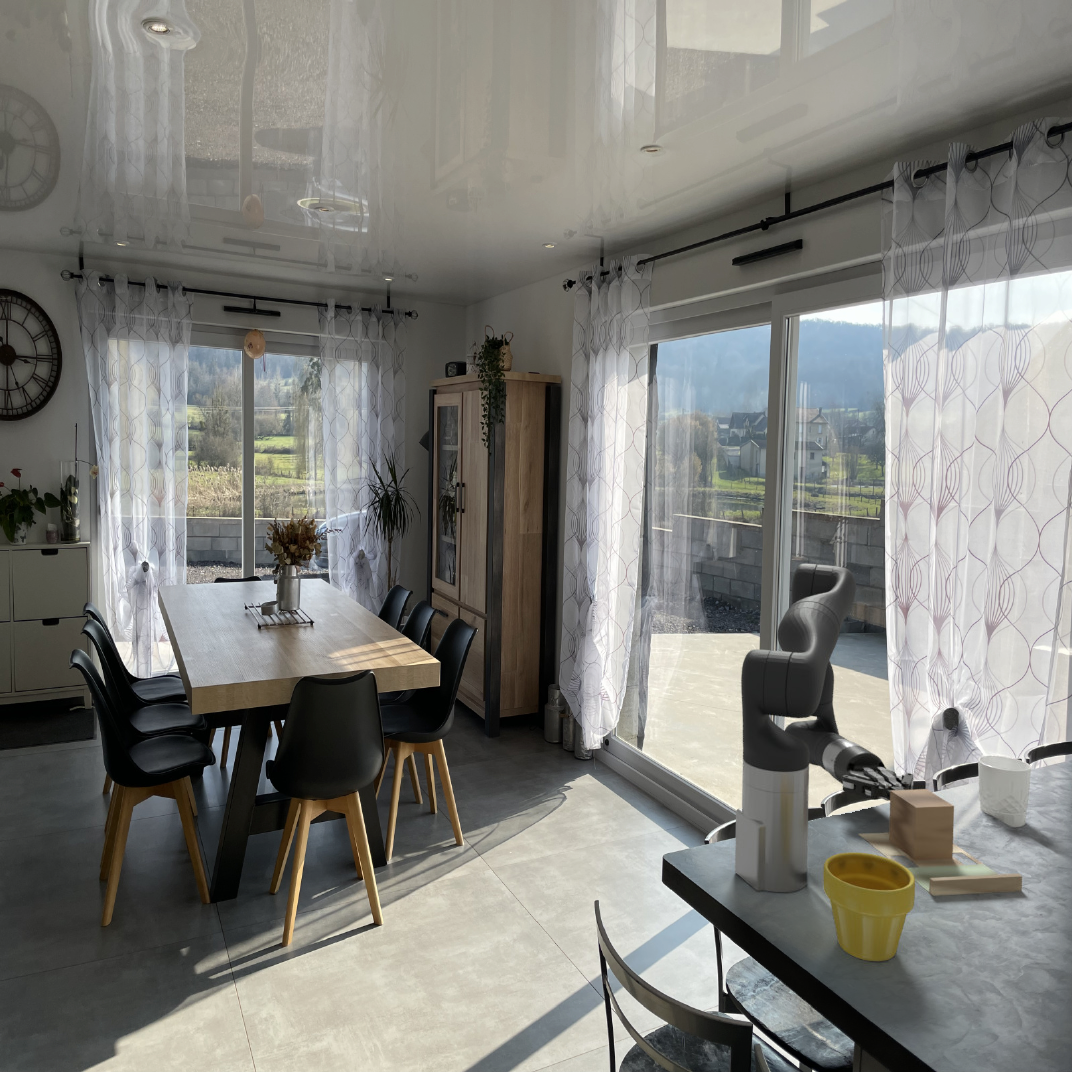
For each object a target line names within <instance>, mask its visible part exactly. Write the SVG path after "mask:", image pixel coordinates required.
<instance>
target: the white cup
mask: <svg viewBox="0 0 1072 1072" xmlns="http://www.w3.org/2000/svg"><path fill="white" fill-rule="evenodd" d="M977 760H978V761H977V762H978V763H977V764H978V765H977V766H978V768H977V769H978V793H979V794H978V795H979V797H978V798H979V799H978V800H979V802H980V803H979V805H980V806H979V808H980V811H982V812H983V813H985V814H987V815H989V816H992V817H994V818H996V819H997V820H999V821H1001V822H1002V823H1004V824H1006V825H1007V826H1009V827H1011V828H1021V827H1023V826H1025V825H1026V820H1027V809H1028V805H1029V797H1030V787H1031V777H1032V776H1031V775H1032V766H1031V764H1030V763H1027V762H1026V761H1023V760H1020V759H1017V758H1013V757H1009V756H1002V755H1001V756H999V755H984V756H983V755H982V756H980V757H978V759H977Z"/></svg>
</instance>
